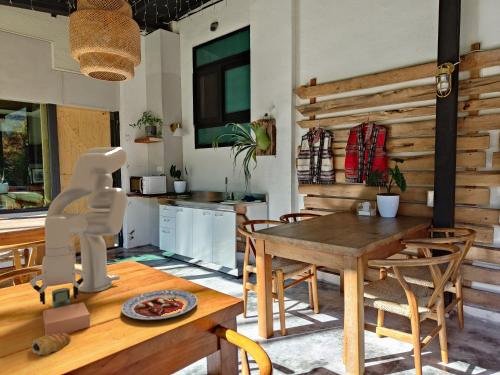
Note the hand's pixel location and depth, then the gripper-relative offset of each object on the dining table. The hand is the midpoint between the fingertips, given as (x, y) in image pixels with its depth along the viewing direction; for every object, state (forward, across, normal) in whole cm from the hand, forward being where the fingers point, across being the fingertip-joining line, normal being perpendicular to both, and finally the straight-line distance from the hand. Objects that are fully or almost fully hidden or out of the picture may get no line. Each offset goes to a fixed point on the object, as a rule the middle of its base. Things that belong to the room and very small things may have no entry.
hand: (59, 300), depth 123 cm
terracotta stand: (+4, -1, +13) cm, 14 cm away
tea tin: (+4, -1, -1) cm, 4 cm away
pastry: (+5, +5, +27) cm, 28 cm away
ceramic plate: (+4, -30, +18) cm, 35 cm away
